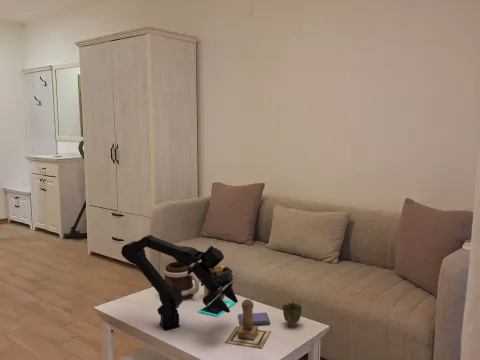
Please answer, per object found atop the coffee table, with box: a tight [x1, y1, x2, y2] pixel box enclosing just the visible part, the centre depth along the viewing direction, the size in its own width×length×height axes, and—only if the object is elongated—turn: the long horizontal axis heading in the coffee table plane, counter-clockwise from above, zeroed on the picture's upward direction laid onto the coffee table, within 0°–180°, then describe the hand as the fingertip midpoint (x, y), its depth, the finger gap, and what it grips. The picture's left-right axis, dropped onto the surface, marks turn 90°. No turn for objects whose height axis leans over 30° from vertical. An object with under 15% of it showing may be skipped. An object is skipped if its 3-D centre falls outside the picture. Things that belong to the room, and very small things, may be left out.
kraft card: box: [224, 325, 272, 350], centre depth 160 cm, size 14×13×1 cm
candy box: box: [203, 264, 225, 299], centre depth 197 cm, size 9×4×15 cm, turn 103°
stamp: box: [238, 299, 259, 341], centre depth 159 cm, size 6×6×14 cm
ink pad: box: [237, 312, 271, 327], centre depth 174 cm, size 12×9×2 cm
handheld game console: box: [197, 298, 237, 318], centre depth 187 cm, size 10×16×1 cm, turn 150°
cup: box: [282, 302, 303, 328], centre depth 169 cm, size 8×7×8 cm
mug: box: [163, 261, 200, 301], centre depth 199 cm, size 20×15×15 cm
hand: (233, 307), depth 161 cm, fingers open, 9 cm apart
